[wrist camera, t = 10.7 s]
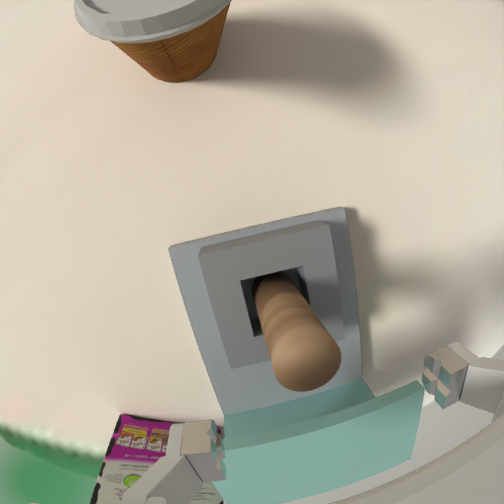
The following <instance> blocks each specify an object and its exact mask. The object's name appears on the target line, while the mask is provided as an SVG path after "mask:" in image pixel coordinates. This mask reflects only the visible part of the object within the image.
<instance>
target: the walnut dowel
mask: <svg viewBox="0 0 504 504" xmlns="http://www.w3.org/2000/svg"><path fill="white" fill-rule="evenodd" d="M252 294H253V298H254V302H255V305H256V309H257V312H258V316H259V320H260V323H261V327H262V331H263V334H264V338H265V341H266V345H267V349H268V352H269V356H270V359H271V363H272V366H273V370H274V373H275V377H276V379H277V381H278V382H279V383H280V384H281V385H282V386H283V387H285V388H287V389H289V390H292V391H297V392H306V391H311V390H314V389H317V388H319V387H321V386H323V385H325V384H326V383H328V382H329V381H330V380H331V379H332V378H333V377H334V376H335V374H336V373H337V371H338V369H339V367H340V364H341V359H342V357H341V350H340V348H339V346H338V344H337V343H336V342H335V340H334V339H333V337H332V336H331V335H330V333H329V332H328V330H327V329H326V328H325V326H324V325H323V323H322V322H321V321H320V319H319V318H318V317H317V315H316V314H315V312H314V311H313V310H312V308H311V307H310V306H309V304H308V303H307V301H306V300H305V299H304V297H303V296H302V295H301V293H300V292H299V290H298V289H297V288H296V286H295V285H294V284H293V282H292V281H291V279H290V278H289V277H288V276H287V275H286V274H285V273H284V272H282V271H278V272H274V273H270V274H266V275H262V276H257V277H256V279H255V280H254V282H253V285H252Z"/></svg>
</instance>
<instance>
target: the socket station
mask: <svg viewBox="0 0 504 504" xmlns="http://www.w3.org/2000/svg"><path fill="white" fill-rule="evenodd" d="M168 250H169V254H170V257H171V261H172V264H173V268H174V271H175V275H176V278H177V282H178V285H179V288H180V292H181V295H182V298H183V301H184V305H185V308H186V311H187V314H188V317H189V320H190V323H191V326H192V329H193V332H194V335H195V338H196V341H197V344H198V347H199V350H200V353H201V356H202V359H203V361H204V364H205V367H206V370H207V372H208V375H209V378H210V381H211V383H212V386H213V389H214V391H215V394H216V396H217V399H218V402H219V404H220V407H221V409H222V412H223V414H224V439H222V440H223V443H224V448H225V458H224V459H223V462H224V464H225V465H226V480H221V481H213V482H212V483H213V485H214V486H215V488H216V489H217V491H218V492H219V494H220V495H221V497H222V498H223V500H224V501H225V502H226V504H280V503H284V502H289V501H293V500H298V499H302V498H306V497H310V496H313V495H317V494H321V493H324V492H327V491H331V490H334V489H337V488H340V487H343V486H346V485H349V484H352V483H355V482H357V481H360V480H363V479H366V478H368V477H371V476H373V475H376V474H378V473H381V472H383V471H385V470H388V469H390V468H392V467H394V466H397V465H399V464H401V463H403V462H405V461H407V460H409V459H410V458H411V454H412V451H413V447H414V442H415V438H416V434H417V429H418V423H419V418H420V414H421V408H422V402H423V396H424V389H425V388H424V387H423V386H422V385H421V384H420V383H419V382H418V381H417V380H416V381H414V382H412V383H410V384H407V385H405V386H403V387H401V388H398V389H396V390H394V391H391V392H389V393H386V394H384V395H382V396H379V397H377V398H375V396H374V395H373V393H372V392H371V390H370V389H369V388H368V386H367V385H366V383H365V382H364V381H363V379H362V365H361V346H360V330H359V317H358V306H357V296H356V286H355V277H354V269H353V261H352V253H351V246H350V239H349V233H348V226H347V220H346V214H345V208H342V207H336V208H332V209H327V210H322V211H318V212H313V213H308V214H304V215H299V216H295V217H290V218H286V219H281V220H277V221H273V222H268V223H264V224H259V225H255V226H251V227H246V228H242V229H238V230H234V231H229V232H225V233H221V234H217V235H212V236H208V237H204V238H200V239H196V240H192V241H188V242H184V243H180V244H176V245H172V246H170V247H169V248H168ZM278 271H282V272H284V273H285V274H286V275H287V276H288V277H289V278H290V279H291V281H292V282H293V284H294V285H295V286H296V288H297V289H298V290H299V292H300V293H301V295H302V296H303V297H304V299H305V300H306V301H307V303H308V304H309V306H310V307H311V308H312V310H313V311H314V312H315V314H316V315H317V317H318V318H319V319H320V321H321V322H322V323H323V325H324V326H325V328H326V329H327V330H328V332H329V333H330V335H331V336H332V337H333V339H334V340H335V342H336V343H337V344H338V346H339V348H340V350H341V357H342V359H341V364H340V367H339V369H338V371H337V373H336V374H335V376H334V377H333V378H332V379H331V380H330V381H329V382H328V383H326V384H325V385H323V386H321V387H319V388H317V389H314V390H311V391H306V392H297V391H292V390H289V389H287V388H285V387H283V386H282V385H281V384H280V383H279V382H278V381H277V379H276V377H275V373H274V370H273V366H272V363H271V359H270V356H269V352H268V349H267V345H266V341H265V338H264V334H263V331H262V327H261V323H260V320H259V316H258V312H257V309H256V305H255V302H254V298H253V294H252V285H253V282H254V280H255V279H256V277H257V276H262V275H266V274H270V273H274V272H278Z"/></svg>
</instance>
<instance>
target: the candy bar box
mask: <svg viewBox="0 0 504 504" xmlns="http://www.w3.org/2000/svg"><path fill="white" fill-rule="evenodd" d="M172 424H179V423H171V422H163V421H156V420H150V419H143V418H137V417H132V416H127V415H122V414H120V416H119V419H118V421H117V424H116V426H115V429H114V432H113V435H112V438H111V441H110V443H109V446H108V449H107V452H106V455H105V458H104V461H103V464H102V467H101V470H100V473H99V476H98V479H97V482H96V486H95V488H94V491H93V494H92V498H91V501H90V504H121V499H122V495H123V494H124V493H125V492H126V491H127V490H128V489H129V488H130V487H131V486H132V485H133V484H134V483H135V482H136V481H137V480H138V479H140V478H141V477H142V476H143V475H144V474H145V473H146V472H147V471H148V470H149V469H150V468H151V467H152V466H153V465H154V464H155V463H156V462H157V461H158V460H159V459H160V458H161V457H165V456H166V450H167V444H168V438H169V432H170V427H171V425H172ZM217 433H219V434H220V435H221V430H220V428H219V427H217ZM190 504H223V498H222V497H221V495H220V494H219V492H218V491H217V489H216V488H215V486H214V485H213V483H212V482H204V483H203V485H202V487H201V488H200V490H199V491H198V493H197V494H196V496H195V497H194V499H193V500H192V502H191V503H190Z"/></svg>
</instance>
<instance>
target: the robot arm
mask: <svg viewBox="0 0 504 504" xmlns="http://www.w3.org/2000/svg"><path fill="white" fill-rule="evenodd" d="M424 365H425V366H426V368H425V370H424V371H423V373H422V382H423V386H424V388H425V389H426V391H427V392H428V393H429V394H433V395H435V401H436V402H437V403H438V404H439V405H440V406H441V407H442V409H444V408H446V407H448V406H450V405H452V404H454V403H456V402H457V401H459V400H460V402H463V403H465V404H468V405H471V406H474V407H476V408H479V409H482V410H485V411H488V412H491V413H493V414H494V417H493V419H492V421H491V423H490V424H489V425H488V426H486V427H485V428H484V429H482V430H481V431H479V432H478V433H476V434H475V435H473V436H472V437H470V438H469V439H468V440H466V441H464V442H463V443H461V444H460V445H458V446H457V447H455V448H453V449H452V450H450V451H448V452H447V453H445V454H443V455H442V456H440V457H438V458H436V459H434V460H433V461H431V462H429V463H427V464H425V465H423V466H421V467H419V468H417V469H415V470H413V471H411V472H409V473H407V474H405V475H403V476H401V477H399V478H397V479H395V480H392V481H390V482H388V483H385V484H383V485H380V486H378V487H375V488H373V489H370V490H368V491H365V492H363V493H360V494H357V495H354V496H351V497H348V498H345V499H343V500H339V501H336V502H333V503H330V504H504V360H497V359H491V358H485V357H482V358H478V357H477V356H476V355H475V354H473V353H472V352H471V351H469V350H468V349H467V348H465V347H464V346H463V345H461V344H460V343H459V342H457V341H454V342H452V343H450V344H448V345H446V346H445V347H443V348H441V349H439V350H437V351H435V352H433V353H430V354H428V355H426V357H425V359H424ZM224 458H225V448H224V443H223V440H222V437H221V435H220V434H219V433H217V426H216V424H215V422H214V420H205V421H196V422H187V423H179V424H172V425H171V427H170V432H169V438H168V444H167V450H166V456H165V457H161V458H160V459H159V460H158V461H157V462H156V463H155V464H154V465H153V466H152V467H151V468H150V469H149V470H148V471H147V472H146V473H145V474H144V475H143V476H142V477H141V478H140V479H138V480H137V481H136V482H135V483H134V484H133V485H132V486H131V487H130V488H129V489H128V490H127V491H126V492H125V493H124V494H123V495H122V499H121V504H190V503H191V502H192V500H193V499H194V497H195V496H196V494H197V493H198V491H199V490H200V488H201V487H202V485H203V483H204V482H213V481H221V480H226V465H225V464H224V462H223V459H224ZM32 504H38V503H32Z"/></svg>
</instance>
